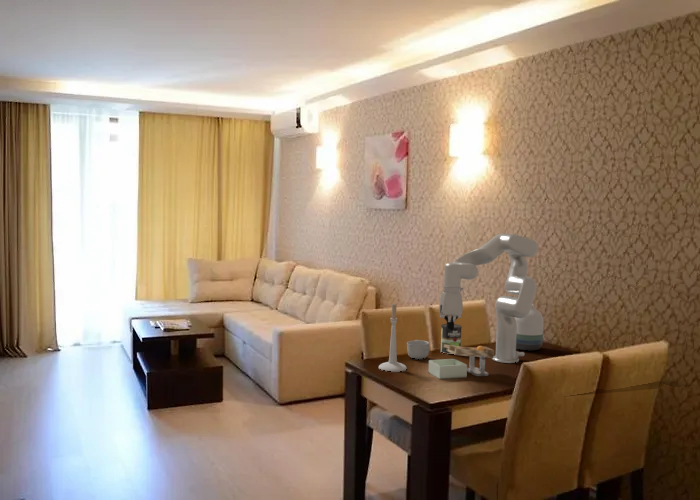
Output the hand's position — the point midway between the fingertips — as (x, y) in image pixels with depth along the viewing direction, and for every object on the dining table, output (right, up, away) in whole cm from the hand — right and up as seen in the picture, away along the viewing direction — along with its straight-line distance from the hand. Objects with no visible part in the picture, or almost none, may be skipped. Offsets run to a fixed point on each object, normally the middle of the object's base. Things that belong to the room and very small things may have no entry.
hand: (450, 330), depth 268 cm
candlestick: (-26, -18, 0) cm, 32 cm away
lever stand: (+11, -18, -5) cm, 22 cm away
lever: (+7, -10, -3) cm, 12 cm away
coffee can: (+6, -16, +34) cm, 38 cm away
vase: (+48, -17, +46) cm, 69 cm away
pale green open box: (-3, -18, -10) cm, 21 cm away
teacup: (-12, -17, +22) cm, 30 cm away
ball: (+13, -8, -5) cm, 16 cm away
